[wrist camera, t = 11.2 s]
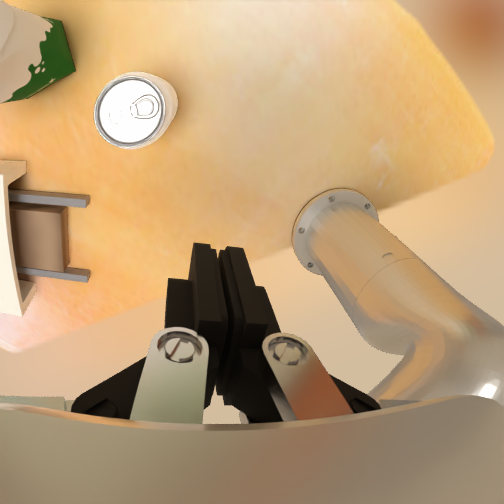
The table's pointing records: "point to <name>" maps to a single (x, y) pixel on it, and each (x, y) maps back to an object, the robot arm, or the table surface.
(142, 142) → the can
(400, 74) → the table surface
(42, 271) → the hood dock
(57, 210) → the walnut tile
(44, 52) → the milk carton
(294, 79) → the table surface
